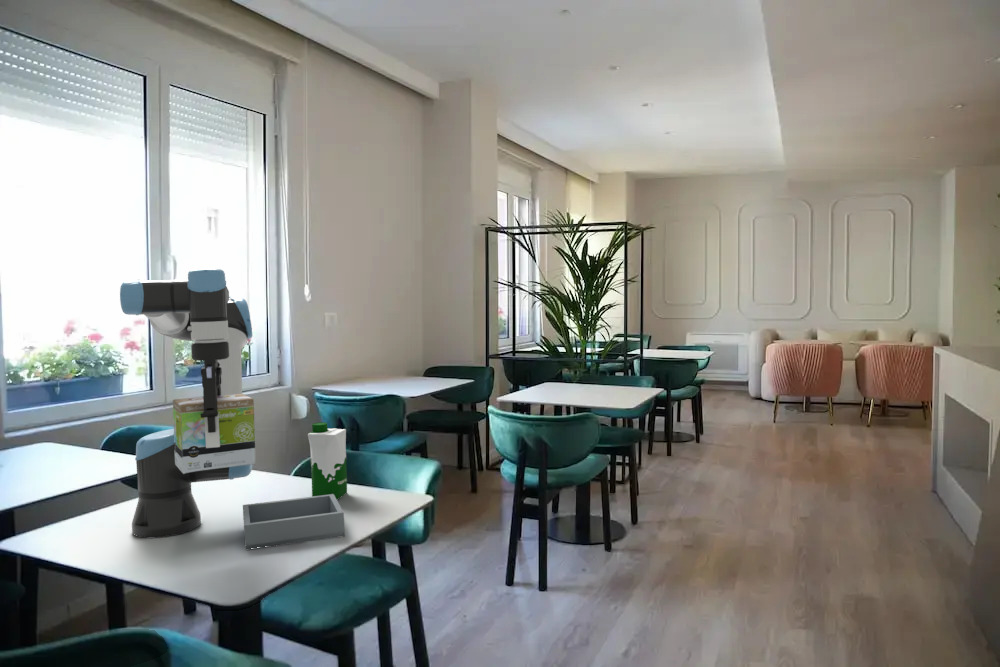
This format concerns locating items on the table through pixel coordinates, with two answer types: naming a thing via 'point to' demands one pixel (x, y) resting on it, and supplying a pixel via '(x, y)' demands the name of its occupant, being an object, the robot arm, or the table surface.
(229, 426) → the tea box
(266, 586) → the table surface
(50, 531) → the table surface
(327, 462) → the milk carton
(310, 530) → the walled tray
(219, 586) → the table surface
